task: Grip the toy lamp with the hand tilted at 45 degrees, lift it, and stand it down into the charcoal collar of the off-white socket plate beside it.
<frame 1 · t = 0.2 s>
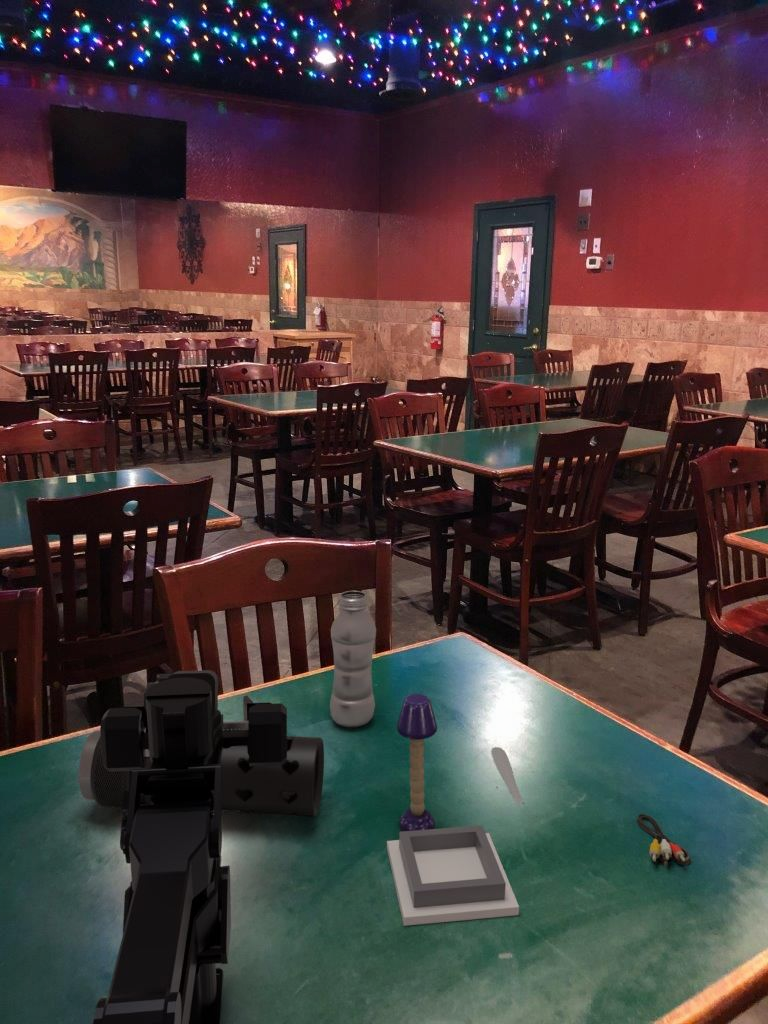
hand: (204, 700, 94), 17 cm above the table, tool horizontal, fingers open, 9 cm apart
muzzle brake: (206, 811, 102), on the table
composite cable: (662, 847, 97), on the table
butter knife: (523, 809, 103), on the table
plastic bottle: (352, 722, 123), on the table
toy lamp: (415, 825, 99), on the table
socket plate: (449, 879, 90), on the table
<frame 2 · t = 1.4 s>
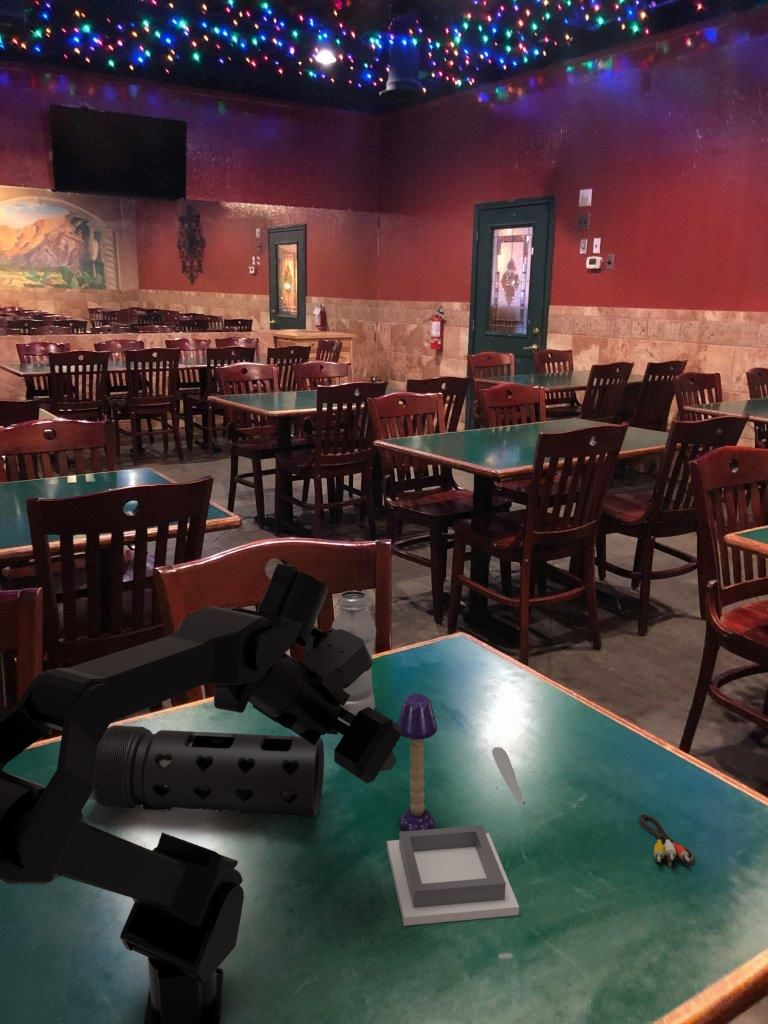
hand: (365, 746, 91), 14 cm above the table, tool tilted 45°, fingers open, 9 cm apart
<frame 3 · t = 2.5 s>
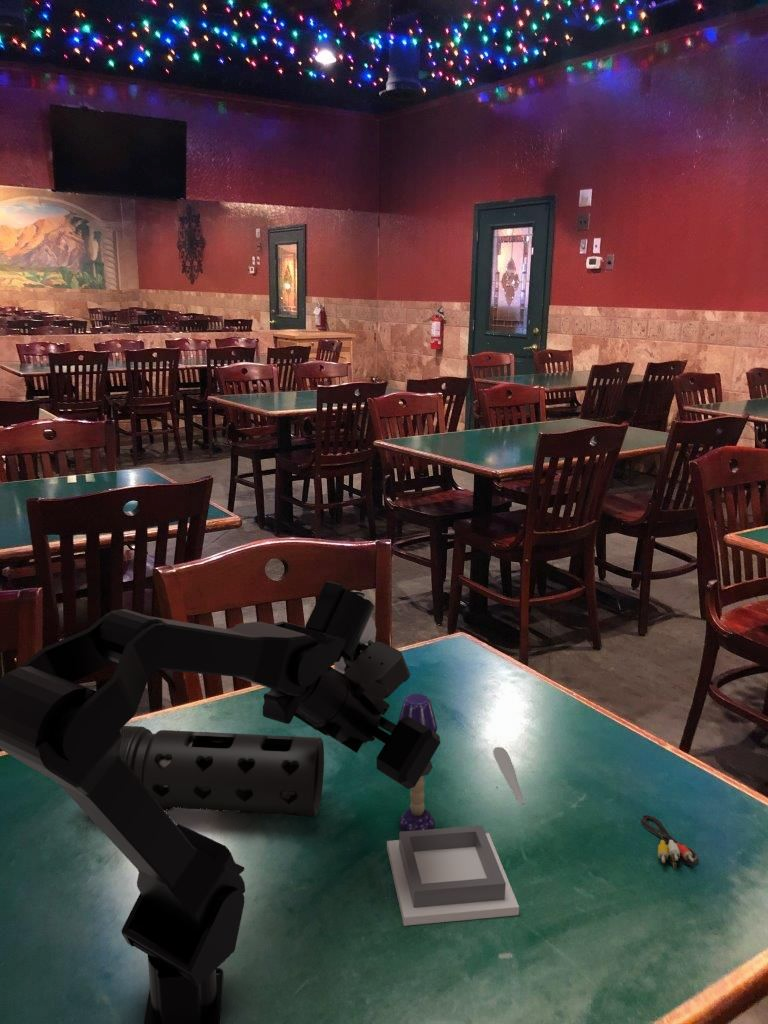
hand: (401, 753, 95), 11 cm above the table, tool tilted 45°, fingers open, 9 cm apart
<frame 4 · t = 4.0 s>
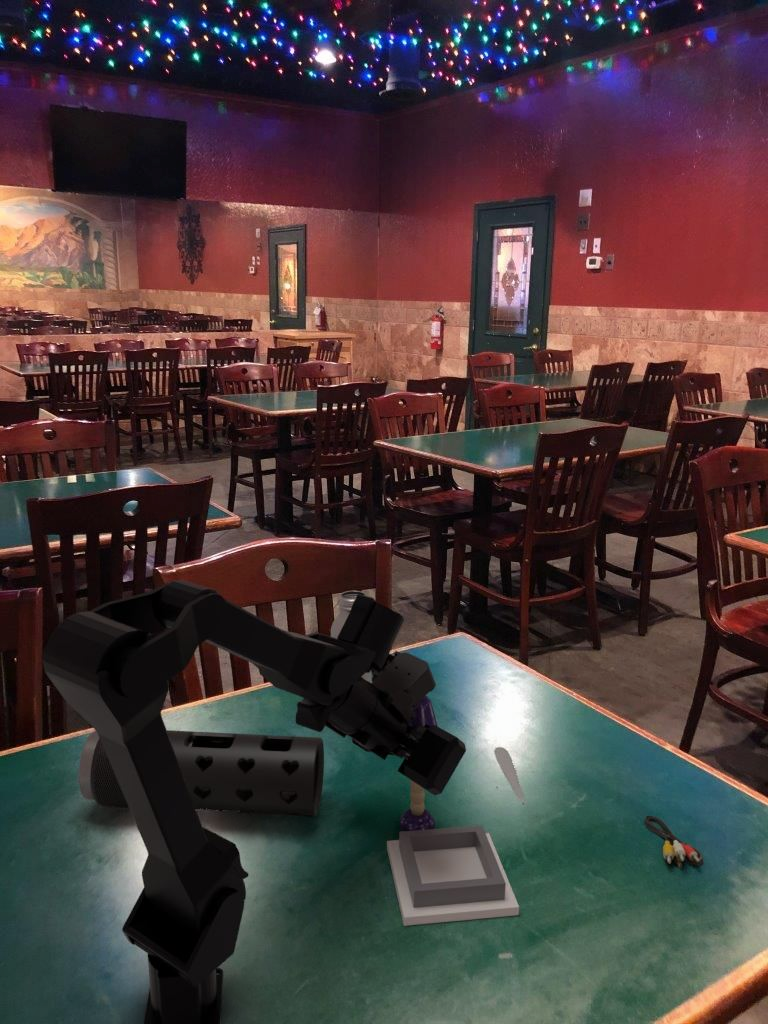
hand: (425, 760, 98), 8 cm above the table, tool tilted 45°, fingers closed on toy lamp, 4 cm apart
toy lamp: (415, 825, 99), on the table, touching gripper
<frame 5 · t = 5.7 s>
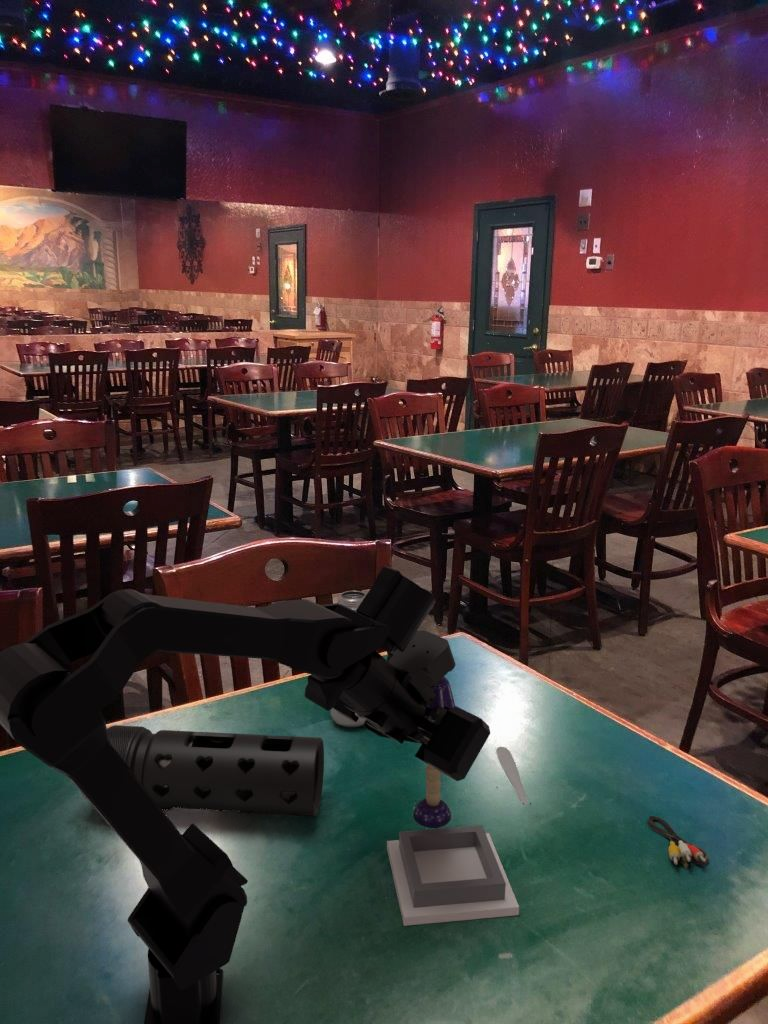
hand: (441, 746, 92), 13 cm above the table, tool tilted 45°, fingers closed on toy lamp, 4 cm apart
toy lamp: (429, 817, 93), point 5 cm above the table, touching gripper
when the fingers open (10 cm above the table, at t = 7.6 s): toy lamp stays where it is, resting on socket plate.
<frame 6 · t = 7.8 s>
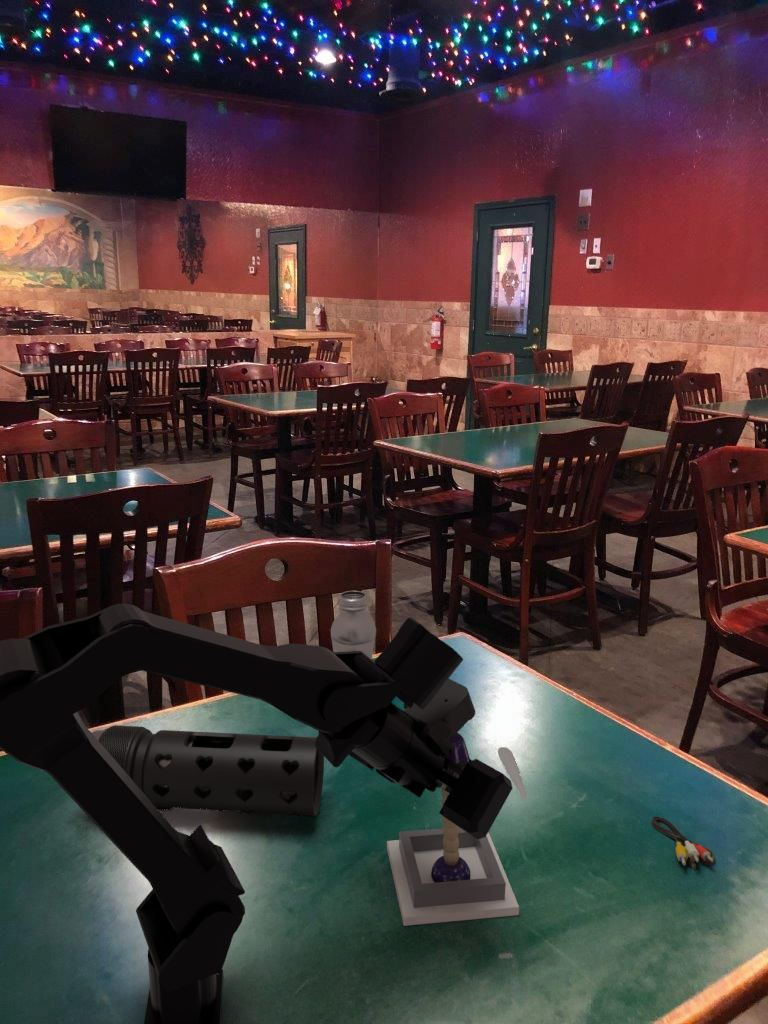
hand: (461, 794, 88), 10 cm above the table, tool tilted 45°, fingers open, 5 cm apart
toy lamp: (448, 875, 90), point 1 cm above the table, touching socket plate
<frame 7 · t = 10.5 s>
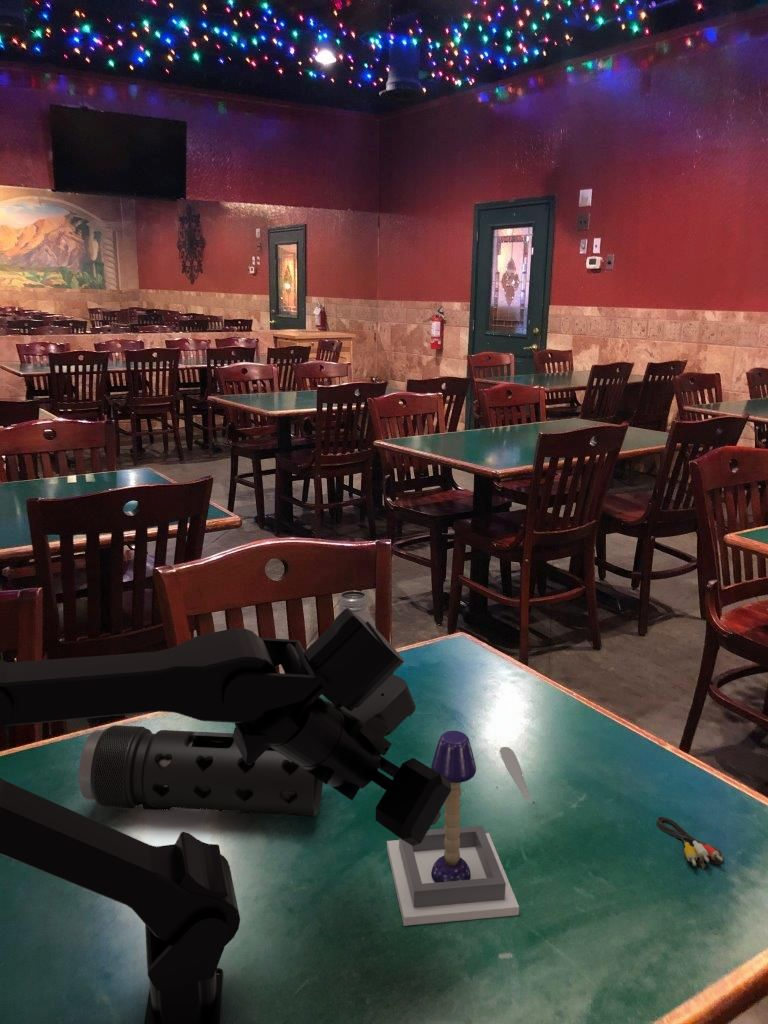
hand: (404, 796, 82), 14 cm above the table, tool tilted 45°, fingers open, 9 cm apart
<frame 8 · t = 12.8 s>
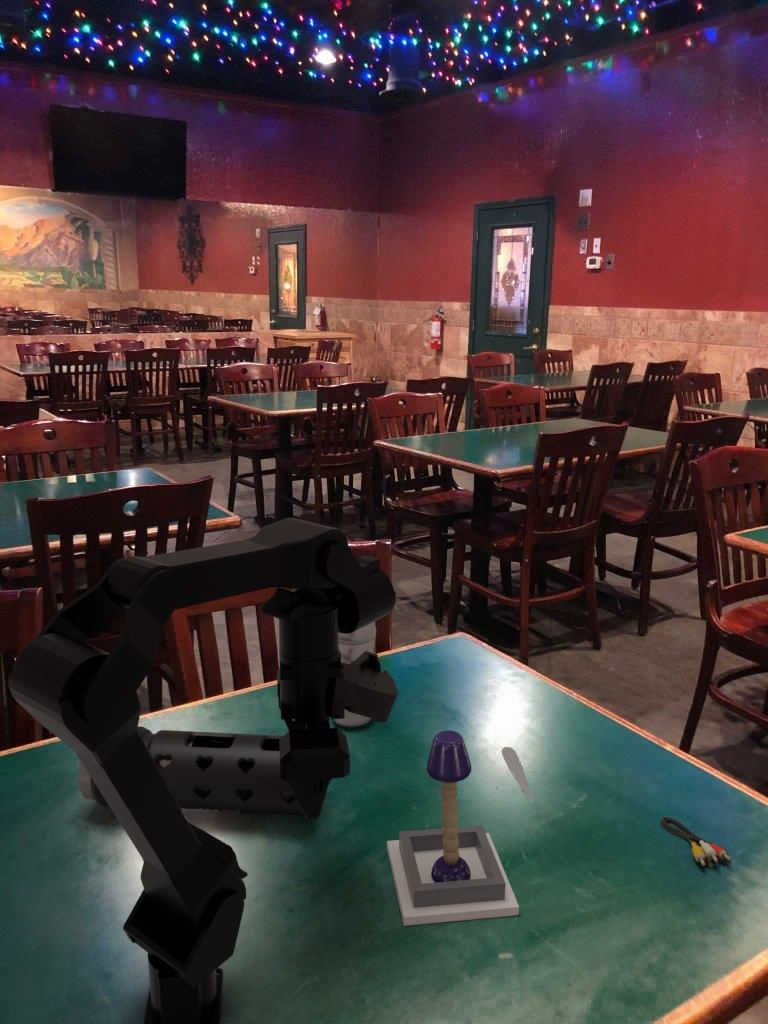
hand: (310, 790, 84), 13 cm above the table, tool pointing down, fingers open, 9 cm apart
at the end: toy lamp 0.4 cm off-centre on the socket plate, point 0.8 cm above the socket plate's base; toy lamp tilted 1°; the gripper is holding nothing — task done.
